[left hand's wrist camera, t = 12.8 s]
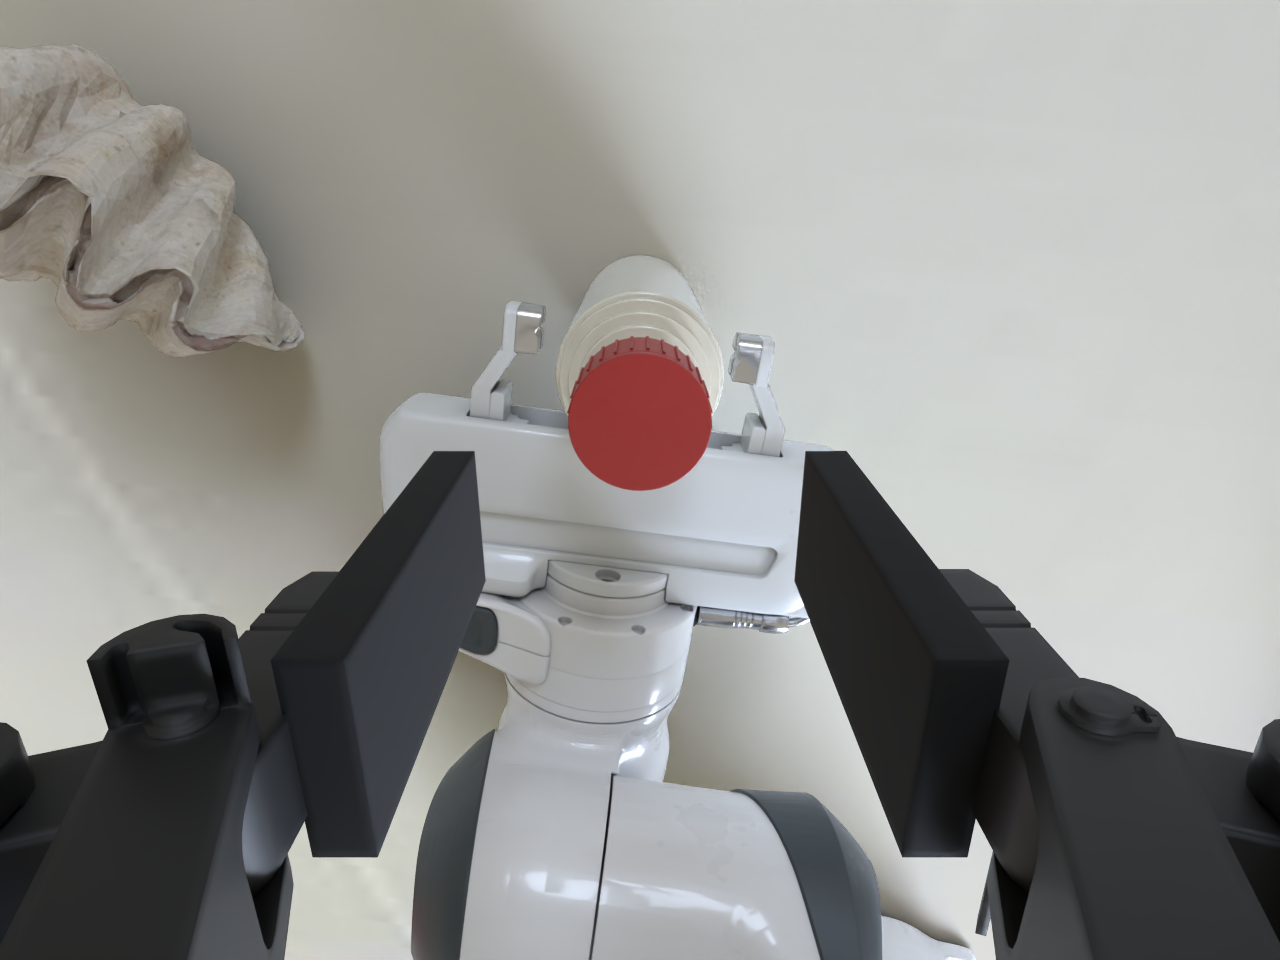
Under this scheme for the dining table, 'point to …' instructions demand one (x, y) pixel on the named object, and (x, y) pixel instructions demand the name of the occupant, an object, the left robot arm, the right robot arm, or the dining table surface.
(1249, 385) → the dining table surface
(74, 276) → the seashell
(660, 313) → the bottle
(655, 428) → the cap
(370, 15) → the dining table surface
